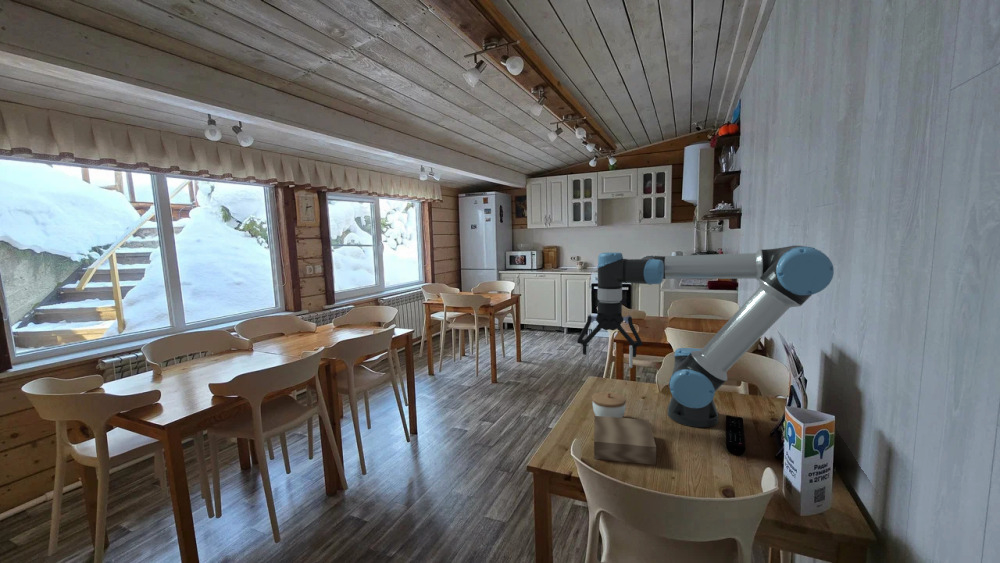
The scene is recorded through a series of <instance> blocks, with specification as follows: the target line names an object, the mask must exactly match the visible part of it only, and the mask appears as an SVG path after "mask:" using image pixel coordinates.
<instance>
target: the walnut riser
mask: <svg viewBox="0 0 1000 563" xmlns="http://www.w3.org/2000/svg"><path fill="white" fill-rule="evenodd" d="M593 420H594V425H593V426H594V430H593V431H594V433H593V434H594V435H593V459H595V460H605V461H616V462H625V463H633V464H634V463H635V464H643V465H645V464H646V465H655V466H656V465H657V445H656V442H655V437H654V434H653V431H652V427H651V422H650V420H649V419H643V418H629V417H628V418H627V417H626V418H625V417H622V418H617V417H604V416H596V415H594V419H593Z"/></svg>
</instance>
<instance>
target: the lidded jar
mask: <svg viewBox="0 0 1000 563" xmlns="http://www.w3.org/2000/svg"><path fill="white" fill-rule="evenodd" d="M591 400H592V403H591V404H592V410H593V413H594V416H604V417H617V418H624V415H625V412H626V402H627V399H626V397H625V396H624V395H622V394H621V393H618V392H614V391H599V392H595V393H593V395H592V396H591Z"/></svg>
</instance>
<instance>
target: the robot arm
mask: <svg viewBox="0 0 1000 563" xmlns="http://www.w3.org/2000/svg"><path fill="white" fill-rule="evenodd" d="M597 259H598V260H597V267H596V269H597V300H598V301H597V311H596V312H597V313H596V315H592V314H587V320H586V323H585V324H584V327H583V329H582V330H581V332H580V333H579V336H578V338H577V339H576V340H577V341H576V342H577V344H580V345H582V355H583V356H585V357H586V361H585V362H586V364H585V365H586V367H587V366H589V364H590V363H589V362H590V359H589V358H590V343H589V342H591V341H592V340H593V338H594V337H595V336H596V335H597V334H598V333H599V332H600V331H601V330H602V329H603V330H604V331H609V330H610V331H615V330H617V331H618V332H620V334H621V335H622V336H623V338H625V340H626V341H627V342H628V343H629V344H630V345H629V357H628V358H629V359H628V360H629V362H628V363H629V364H628V365H629V368H630V369H632V368H633V361H634V360H633V359H634V358H636V356H637V348H638V347H641V346H643V341H642V339H641V337H640V336H639V334H638V332H637V329H636V328H635V325H634V324H633V318H632V316H631V315H628V316H623V314H622V312H623V303H622V300H623V284H640V285H641V284H644V285H660V284H662V283H663V281H664V280H678V279H679V280H682V279H683V280H685V279H687V280H689V279H690V280H696V279H697V280H698V279H700V280H702V279H703V280H708V279H710V280H712V279H717V280H721V279H726V280H727V279H729V280H730V279H731V280H733V279H736V280H737V279H739V280H741V279H744V280H745V279H750V280H751V279H754V280H757V281H758V282H759V287H758V289H756V291H755V292H754V293H752V295H750V297H749V298H748V299H747V300H746V301H745V302H744V303H743V305H742V306H741V307H740V308H739V309H738V310H736V312H735V313H734V314H733V315H732V316H731V318H730V319H728V320H727V322H725V324H724V325H723V326H722V327H721V328H720V329H719V330H718V331H717V333H715V334H714V336H713V337H712V338H711V339H710V340H709V341H708V342H706V345H705V346H704V347H702V348H694V347H678V348H676V349H675V350H674V354H673V357H674V366H673V369H672V373H671V376H670V378H669V381H668V384H669V391H670V393H671V395H672V396H671V398H670V400H669V404H668V405H667V416H668V417H669V418H670V419H671V420H672V421H673V422H676V423H678V424H681V425H684V426H688V427H693V428H709V427H710V428H711V427H714V426H716V425H717V424H718V422H719V413H718V412H719V411H718V409H717V407H716V403H715V400H714V398H715V394H716V392H717V391H718V390H719V389H720V388H721V387H722V385H724V384H725V383H726V381H728V374H727V373H728V371H729V370H730V369H731V368H732V367H733V366H734V365H735V364H736V363H737V362H738V361H739V360H740V359H741V358H742V357H743V356H744V355H745V354H746V352H748V351H749V350H750V349H751V347H753V345H755V343H756V342H757V341H758V340H760V338H762V337H763V335H765V333H766V332H767V331H768V330H770V328H771V327H772V326H774V324H775V323H776V322H777V321H778V320H779V319H780V318H781V317H782V316H783V315H784V314H785V313H786V312H787V311H788V310H789V309H790V308H794V307H795V308H796V307H797V308H798V307H801V306H802V305H803V304H804V303H805V302H807V300H809V298H811V296H812V295H815V294H818V293H820V292H822V291H823V290H825V289H826V288H827V287H828V286H829V285H830V284H831V283H832V281H833V278H834V272H835V271H834V265H833V263H832V260H831V259H830V258H829V256H827V255H826V254H825V253H824V252H822V250H819V249H817V248H815V247H813V246H812V247H811V246H805V245H804V246H803V245H790V246H789V245H788V246H784V247H778V248H777V247H775V248H769V249H768V248H766V249H759V250H758V251H756V252H750V253H749V252H748V253H721V254H719V253H718V254H717V253H715V254H692V255H691V254H689V255H688V254H687V255H685V254H684V255H666V256H660V255H659V256H658V255H657V256H656V255H655V256H653V255H646V256H644V257H642V258H635V259H633V258H632V259H630V258H624V257H623V252H612V251H611V252H601V253H599V254H598V257H597ZM594 321H596V323H597V325H596V326H595V328H593V330H592V331H591V332H590V333H589V334H588V335H587V336H586V333H587V332H588V330H589V328H590V326H591V324H592V323H594ZM623 322H625V324H627V325H628V327H629V329H630V331H631V332H632V335H633V336H634V338H635V340H636V341H635V340H634V339H633V338H632V337H631V336H630V335H629V334H628V332H627V331H626V330H625V329H624V327H623V326H622V325H621V324H622V323H623ZM585 336H586V338H584V337H585Z"/></svg>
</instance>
